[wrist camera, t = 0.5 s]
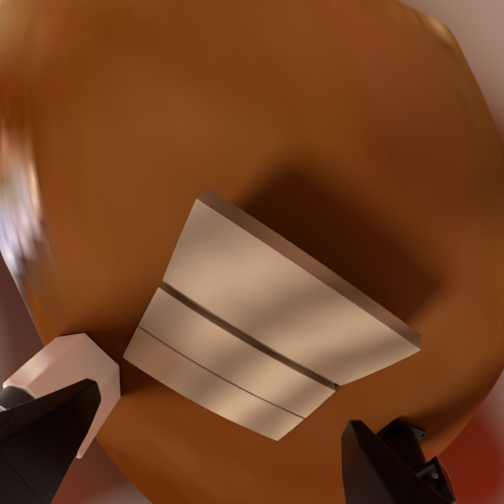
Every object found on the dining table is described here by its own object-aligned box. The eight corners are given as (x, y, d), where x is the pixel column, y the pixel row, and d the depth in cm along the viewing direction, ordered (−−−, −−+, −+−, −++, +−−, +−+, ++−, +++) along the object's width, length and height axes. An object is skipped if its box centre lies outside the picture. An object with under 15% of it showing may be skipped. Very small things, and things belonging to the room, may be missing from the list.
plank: (420, 334, 16) (420, 349, 15) (343, 373, 22) (340, 385, 21) (207, 187, 15) (196, 198, 14) (171, 268, 20) (162, 280, 20)
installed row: (339, 374, 22) (342, 385, 21) (277, 430, 24) (277, 441, 23) (169, 272, 21) (163, 278, 19) (128, 348, 23) (122, 357, 22)
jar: (48, 354, 25) (-16, 415, 13) (69, 314, 23) (-14, 382, 11) (106, 409, 26) (58, 484, 14) (138, 379, 24) (81, 472, 12)
